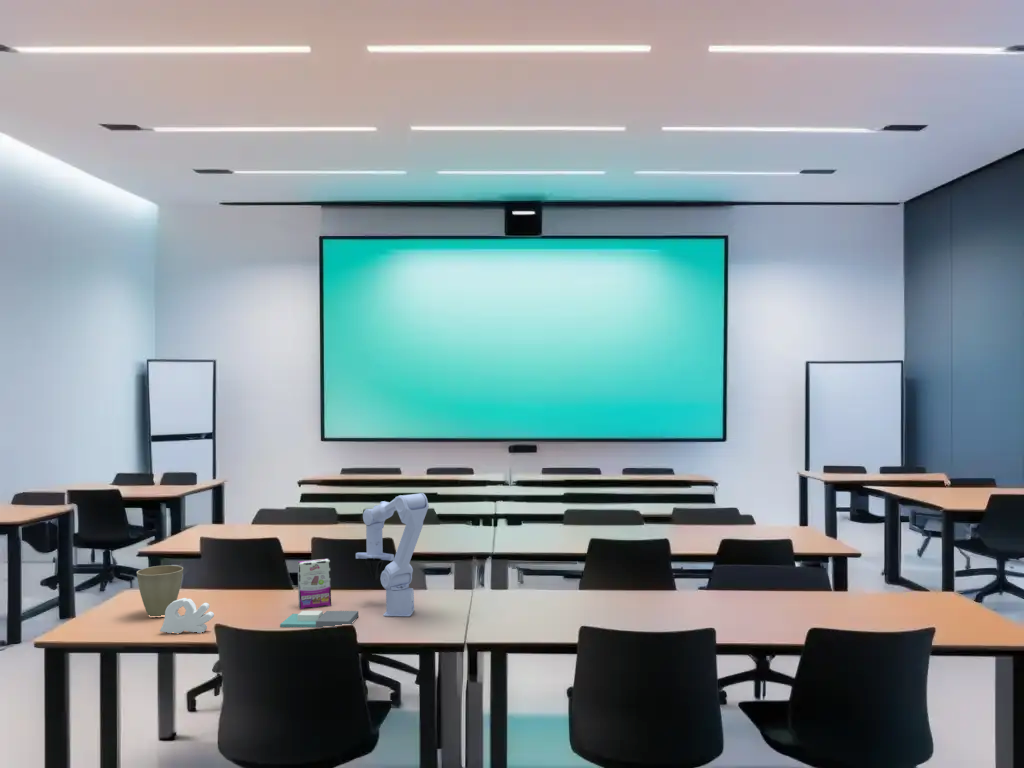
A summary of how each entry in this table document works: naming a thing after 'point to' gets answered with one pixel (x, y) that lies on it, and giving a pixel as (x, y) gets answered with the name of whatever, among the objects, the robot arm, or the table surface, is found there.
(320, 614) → the tile
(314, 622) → the mat
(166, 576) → the plant pot
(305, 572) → the candy bar box
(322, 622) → the plate
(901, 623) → the table surface
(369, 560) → the robot arm
